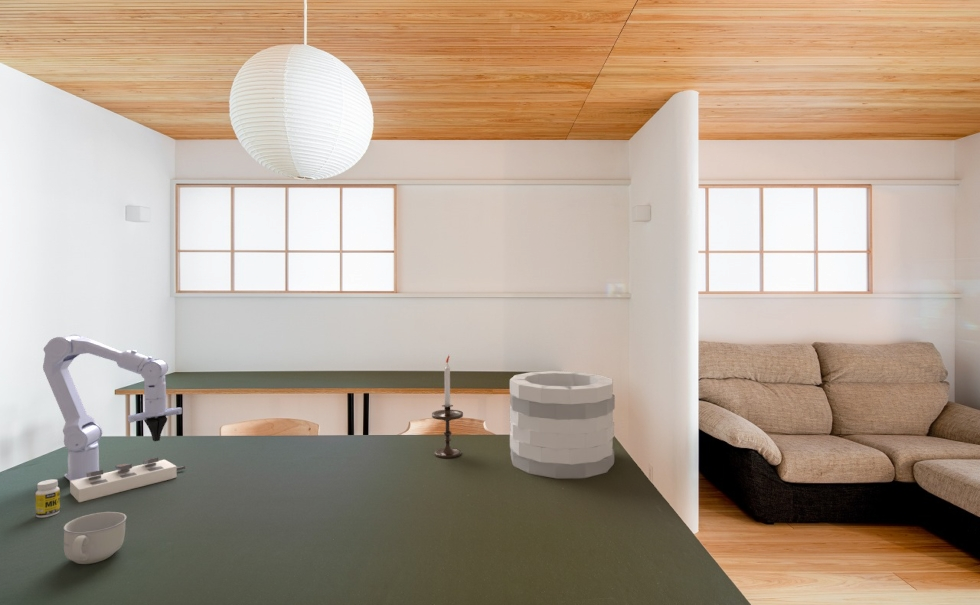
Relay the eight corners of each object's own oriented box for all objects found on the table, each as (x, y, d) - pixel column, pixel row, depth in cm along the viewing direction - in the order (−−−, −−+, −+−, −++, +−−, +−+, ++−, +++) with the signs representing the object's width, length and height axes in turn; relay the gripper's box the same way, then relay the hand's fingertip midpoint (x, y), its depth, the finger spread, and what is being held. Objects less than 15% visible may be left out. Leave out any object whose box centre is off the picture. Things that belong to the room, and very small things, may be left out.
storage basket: (506, 445, 190) (505, 371, 190) (599, 443, 192) (599, 370, 191) (514, 480, 155) (514, 390, 155) (628, 478, 157) (628, 388, 156)
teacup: (87, 545, 116) (86, 510, 116) (137, 543, 117) (137, 508, 117) (38, 580, 103) (37, 540, 102) (96, 577, 103) (95, 538, 103)
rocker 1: (86, 477, 148) (86, 472, 149) (98, 474, 151) (98, 470, 151) (91, 476, 145) (90, 472, 146) (103, 474, 147) (102, 469, 148)
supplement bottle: (45, 519, 130) (44, 486, 130) (30, 517, 131) (30, 484, 131) (64, 510, 135) (64, 479, 135) (50, 509, 136) (49, 477, 135)
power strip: (70, 493, 147) (69, 478, 146) (178, 466, 168) (178, 454, 168) (79, 502, 140) (78, 487, 140) (190, 473, 162) (190, 460, 162)
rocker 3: (142, 464, 159) (142, 460, 159) (153, 462, 161) (152, 458, 162) (148, 463, 156) (147, 459, 156) (158, 461, 158) (158, 457, 158)
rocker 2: (115, 470, 154) (115, 465, 154) (126, 467, 156) (126, 463, 156) (120, 470, 151) (120, 466, 151) (131, 468, 153) (131, 463, 153)
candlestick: (469, 452, 182) (468, 353, 181) (450, 461, 173) (450, 357, 172) (444, 447, 188) (444, 351, 187) (425, 455, 178) (425, 355, 178)
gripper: (132, 403, 155) (133, 448, 156) (185, 395, 166) (185, 437, 167) (125, 400, 160) (126, 443, 160) (176, 393, 171) (177, 433, 171)
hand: (156, 440), depth 164 cm, fingers closed
